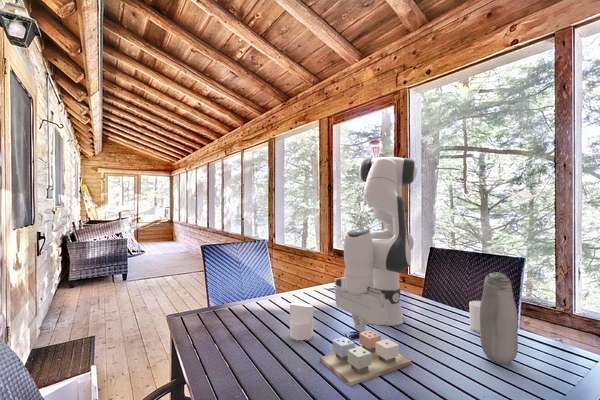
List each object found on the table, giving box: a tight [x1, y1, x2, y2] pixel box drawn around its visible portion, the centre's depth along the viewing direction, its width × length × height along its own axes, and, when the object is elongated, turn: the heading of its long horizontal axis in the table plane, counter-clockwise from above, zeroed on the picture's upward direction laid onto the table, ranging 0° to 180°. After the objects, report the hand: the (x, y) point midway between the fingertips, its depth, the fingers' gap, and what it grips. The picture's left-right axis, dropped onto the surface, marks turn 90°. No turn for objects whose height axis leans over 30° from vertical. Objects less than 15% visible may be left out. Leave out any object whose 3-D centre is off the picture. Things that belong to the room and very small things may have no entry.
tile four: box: [358, 330, 382, 349], centre depth 105 cm, size 5×5×4 cm
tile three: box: [332, 336, 356, 357], centre depth 100 cm, size 5×5×4 cm
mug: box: [468, 300, 481, 334], centre depth 122 cm, size 12×8×10 cm
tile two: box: [348, 345, 372, 369], centre depth 93 cm, size 5×5×4 cm
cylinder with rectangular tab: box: [289, 301, 314, 341], centre depth 120 cm, size 9×9×12 cm
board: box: [319, 344, 413, 387], centre depth 99 cm, size 16×24×4 cm, turn 118°
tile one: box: [375, 338, 400, 360], centre depth 98 cm, size 5×5×4 cm
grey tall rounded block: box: [480, 271, 519, 365], centre depth 99 cm, size 10×10×28 cm
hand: (360, 330), depth 92 cm, fingers closed
